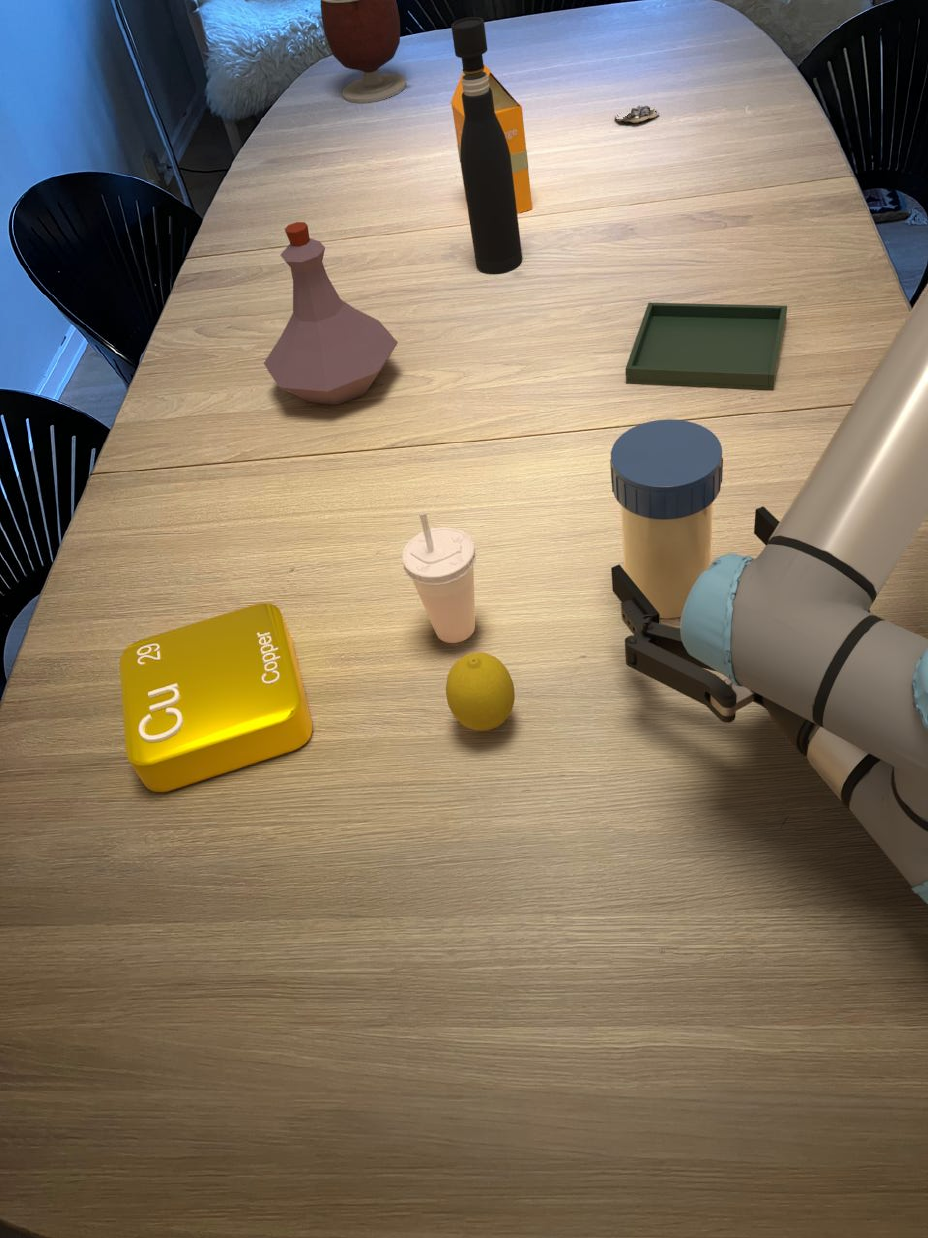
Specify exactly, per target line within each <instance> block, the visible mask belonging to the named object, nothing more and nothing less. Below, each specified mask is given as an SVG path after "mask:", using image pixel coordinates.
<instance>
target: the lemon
mask: <svg viewBox="0 0 928 1238" xmlns="http://www.w3.org/2000/svg"><path fill="white" fill-rule="evenodd" d="M445 683H446V684H445V694H446V702H447V706H448V707H449V709H450V711H451V713H452V716H453V717H454V718H455V719H456V720H457V721H458V722H459V723H460V724H461V725H462V726H464V727H465V728H468V729H469V730H473V731H477V732H479V731H480V732H486V731H491V730H493V729H496V728H497V727H500V726H501V725H502V724H503V723H504V722H505V721H506V720H507V719H508V718H509V716H510V715H511V713H512V711H513V708H514V704H515V698H516V697H515V684H514V681H513V679H512V676H511V674H510V671H509V670H508V669H507V667H506V666H505V664H504V663H503V662H502V661H501V660H500V659H498V658H497V657H495V655H492V654H490V653H487V652H471V653H468V654H465V655H463V656H461V657H460V658H459V659H457V660H456V661H455V662H454V664H453V665H452V666H451V667H450V670H449V672H448V674H447V678H446V682H445Z"/></svg>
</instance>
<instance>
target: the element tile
mask: <svg viewBox="0 0 928 1238" xmlns="http://www.w3.org/2000/svg"><path fill="white" fill-rule="evenodd" d="M119 674H120V675H119V676H120V689H121V702H122V718H123V719H122V720H123V730H124V746H125V754H126V759H127V760H128V762H129V763H130V765H131V767H132V768H133V770H134V771H135V773H136V774H137V776H138V778H139V780H141V782H142V783H143V786H145V788H146V789H148V790H149V791H151V792H154V793H167V792H168V793H169V792H171V791H174V790H178V789H180V788H184V787H188V786H189V785H193V784H196V783H199V782H202V781H205V780H208V779H211V778H214V777H217V776H220V775H221V776H222V775H223V774H227V773H230V772H234V771H237V770H238V769H242V768H245V767H248V766H251V765H254V764H257V763H260V762H264V761H267V760H269V759H272V758H276V757H279V756H283V755H285V754H288V753H291V752H295V751H296V750H298V749H300V748H301V747H303V746H305V745H306V744H307V742H309V740H310V739H311V737H312V734H313V733H312V732H313V721H312V716H311V712H310V708H309V704H308V701H307V700H308V699H307V696H306V691H305V688H304V683H303V679H302V675H301V671H300V667H299V663H298V659H297V655H296V651H295V647H294V643H293V639H292V637H291V633H290V631H289V629H288V626H287V623H286V621H285V618H284V616H283V613H282V612H281V610H280V608H279V607H278V606H277V605H275V604H273V603H269V602H259V603H256V604H255V603H254V604H252V605H249V606H246V607H242V608H239V609H236V610H232V611H228V612H226V613H222V614H219V615H216V616H213V617H209V618H206V619H204V620H200V621H196V622H194V623H189V624H187V625H184V626H181V627H177V628H174V629H170V630H167V631H164V632H162V633H161V632H160V633H158V634H155V635H152V636H148V637H145V638H141V639H139V640H136V641H135V642H133V643H131V644H130V645H128V646H126V648H124V650H123V652H122V653H121V656H120V658H119Z"/></svg>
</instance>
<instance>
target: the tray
mask: <svg viewBox="0 0 928 1238" xmlns="http://www.w3.org/2000/svg"><path fill="white" fill-rule="evenodd" d="M787 315H788V305H777V304H776V305H774V304H773V305H772V304H733V303H732V304H729V303H728V304H727V303H690V302H689V303H687V302H684V303H683V302H648V303H647V306H646V308H645V311H644V315H643V317H642V320H641V323H640V325H639V328H638V332H637V334H636V337H635V340H634V343H633V346H632V349H631V350H630V355H629V357H628V360H627V363H626V365H625V383H626V384H632V385H633V384H635V385H636V384H637V385H656V386H657V385H658V386H676V387H677V386H678V387H697V388H717V389H718V388H720V389H721V388H722V389H723V388H724V389H740V390H741V389H742V390H760V391H761V390H762V391H763V390H764V391H774V390H775V383H776V380H777V379H776V378H777V372H778V366H779V361H780V356H781V352H782V351H781V350H782V345H783V340H784V336H785V335H784V334H785V329H786V323H787Z"/></svg>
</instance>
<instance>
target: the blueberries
mask: <svg viewBox="0 0 928 1238" xmlns="http://www.w3.org/2000/svg"><path fill="white" fill-rule="evenodd" d="M650 107H651V106H648V105H644V106H643V105H638V106H637V107H636V108H635V107H633V108H631V110H630V111H631V113H629V114H628V115H627V116H625V117H623V119H619V120H617V121H618V122H624V123H625V122H626V123H628V122H630V123H634V124H635V123H639V122H643V121H646V120H648V119H653V118H654V119H655V118H656V117H658V116H660V114H659V115H658V114H657V113H656V112H655V109H653V110H650ZM616 115H617V114H616ZM614 117H615V118H617V117H619V116H618V115H617V117H616V116H615V115H614ZM615 118H614V119H615Z"/></svg>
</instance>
